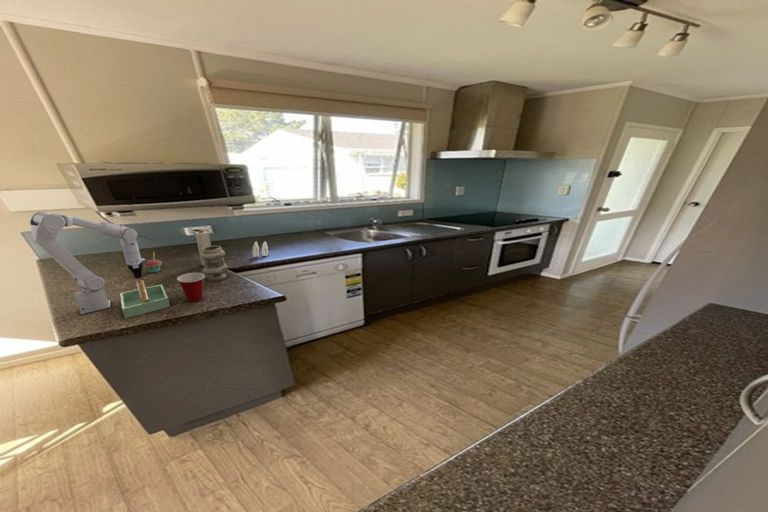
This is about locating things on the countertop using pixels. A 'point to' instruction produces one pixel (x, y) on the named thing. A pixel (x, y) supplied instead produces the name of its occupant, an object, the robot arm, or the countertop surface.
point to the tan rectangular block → (142, 291)
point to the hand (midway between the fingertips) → (138, 278)
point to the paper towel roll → (202, 242)
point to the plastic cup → (192, 285)
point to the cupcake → (153, 264)
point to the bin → (134, 306)
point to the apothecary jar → (214, 263)
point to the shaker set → (256, 249)
